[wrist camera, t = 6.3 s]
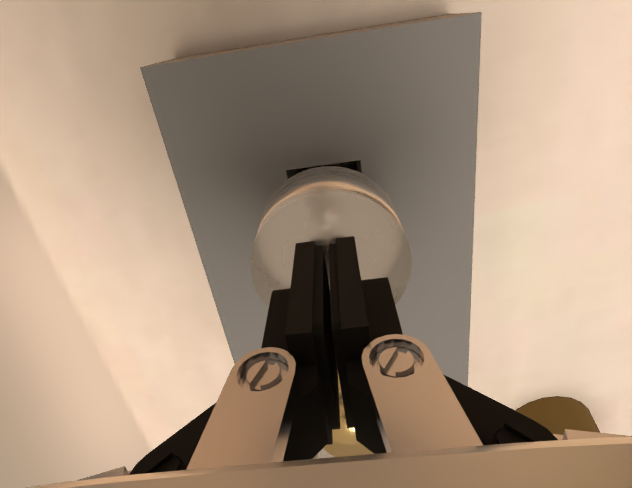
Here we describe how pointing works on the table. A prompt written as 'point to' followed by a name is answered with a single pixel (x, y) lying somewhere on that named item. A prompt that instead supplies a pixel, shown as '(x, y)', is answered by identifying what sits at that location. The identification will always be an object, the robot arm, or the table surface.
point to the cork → (560, 414)
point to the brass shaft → (345, 437)
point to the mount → (333, 156)
